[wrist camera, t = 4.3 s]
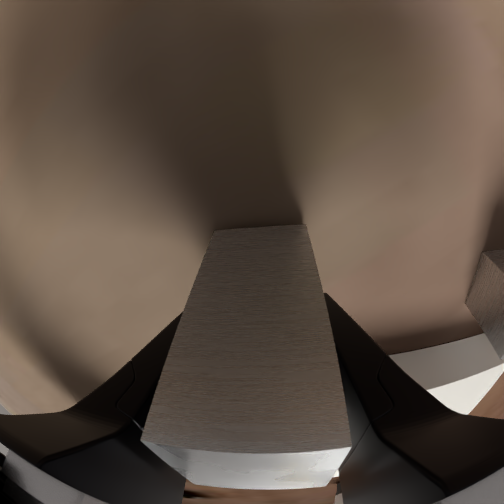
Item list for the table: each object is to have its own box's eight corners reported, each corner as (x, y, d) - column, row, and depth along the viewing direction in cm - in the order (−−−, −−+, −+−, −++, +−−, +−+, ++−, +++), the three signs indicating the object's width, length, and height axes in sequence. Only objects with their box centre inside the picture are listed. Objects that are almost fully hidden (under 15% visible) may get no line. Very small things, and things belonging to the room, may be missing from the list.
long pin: (228, 300, 12) (194, 484, 5) (214, 230, 10) (140, 440, 4) (305, 296, 12) (325, 486, 5) (305, 224, 10) (352, 446, 3)
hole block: (262, 457, 24) (260, 481, 21) (238, 367, 15) (233, 411, 12) (417, 436, 22) (422, 456, 19) (493, 329, 13) (511, 359, 11)
